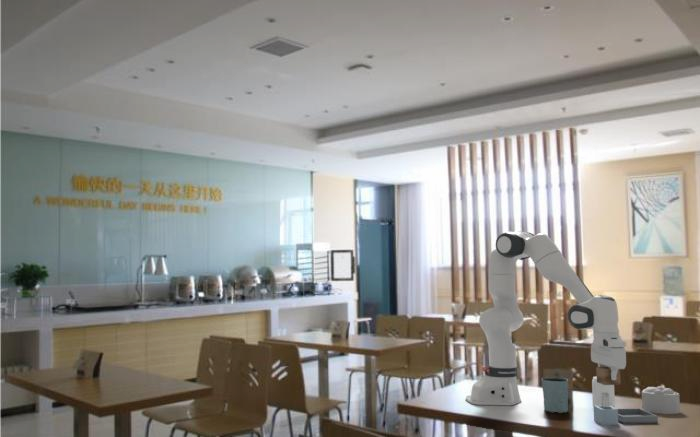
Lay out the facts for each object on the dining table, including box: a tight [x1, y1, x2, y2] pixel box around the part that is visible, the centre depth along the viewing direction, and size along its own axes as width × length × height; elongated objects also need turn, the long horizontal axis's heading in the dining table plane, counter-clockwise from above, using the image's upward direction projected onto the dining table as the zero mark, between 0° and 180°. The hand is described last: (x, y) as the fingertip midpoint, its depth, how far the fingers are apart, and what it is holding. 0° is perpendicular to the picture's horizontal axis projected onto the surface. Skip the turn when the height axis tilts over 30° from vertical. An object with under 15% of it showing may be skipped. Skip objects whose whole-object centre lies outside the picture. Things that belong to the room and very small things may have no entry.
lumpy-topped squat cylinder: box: [641, 386, 681, 415], centre depth 244 cm, size 10×13×9 cm
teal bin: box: [541, 376, 569, 414], centre depth 245 cm, size 10×10×12 cm
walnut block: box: [595, 366, 622, 386], centre depth 228 cm, size 6×6×6 cm
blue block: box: [593, 406, 619, 426], centre depth 226 cm, size 6×6×6 cm
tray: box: [617, 407, 659, 425], centre depth 230 cm, size 13×12×2 cm
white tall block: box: [591, 375, 616, 408], centre depth 247 cm, size 8×8×12 cm
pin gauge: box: [602, 393, 610, 409], centre depth 226 cm, size 3×3×9 cm
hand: (608, 378), depth 228 cm, fingers closed on walnut block, 6 cm apart
